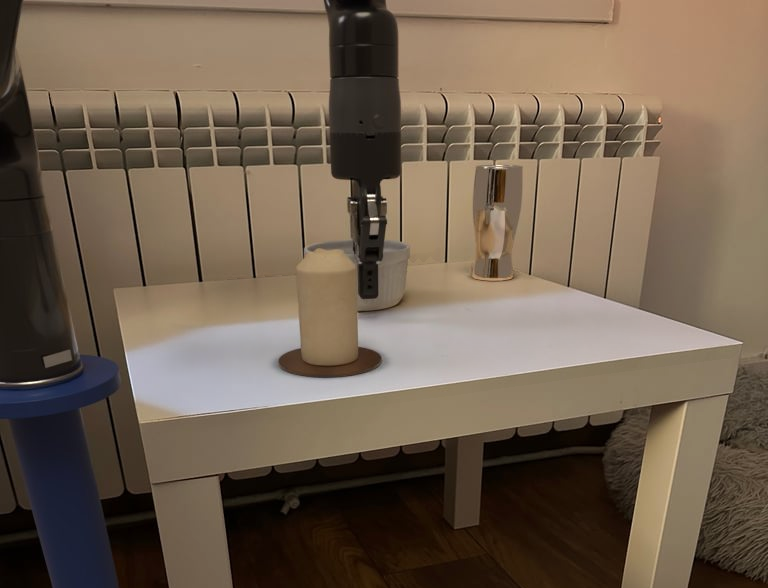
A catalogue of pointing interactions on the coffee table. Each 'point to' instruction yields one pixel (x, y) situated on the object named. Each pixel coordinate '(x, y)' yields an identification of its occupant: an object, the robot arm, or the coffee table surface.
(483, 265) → the beer glass
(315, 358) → the candle
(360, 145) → the robot arm
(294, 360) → the coaster
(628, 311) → the coffee table surface
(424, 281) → the coffee table surface
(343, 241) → the ramekin
